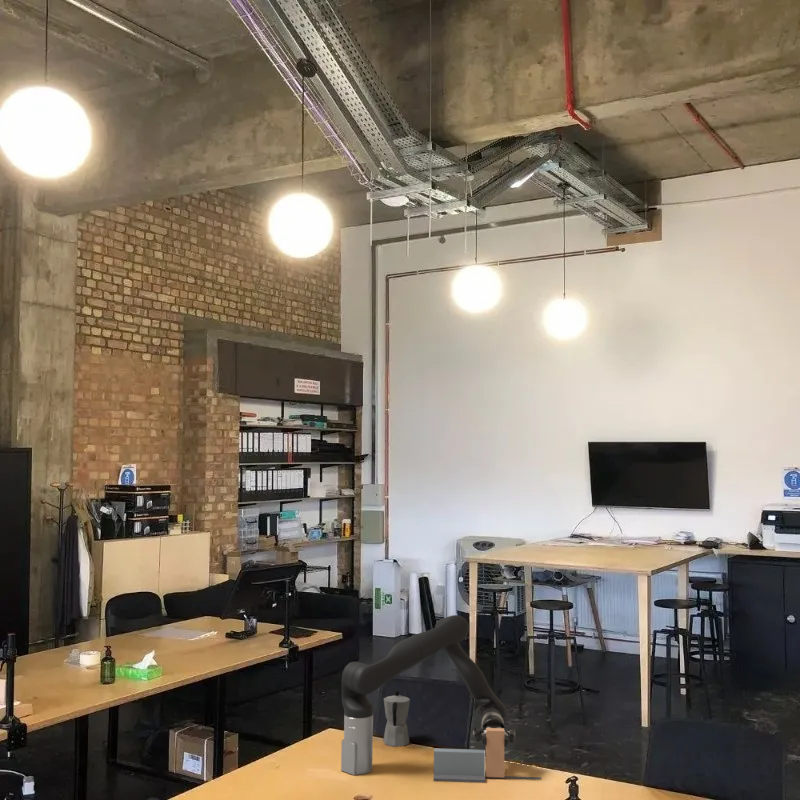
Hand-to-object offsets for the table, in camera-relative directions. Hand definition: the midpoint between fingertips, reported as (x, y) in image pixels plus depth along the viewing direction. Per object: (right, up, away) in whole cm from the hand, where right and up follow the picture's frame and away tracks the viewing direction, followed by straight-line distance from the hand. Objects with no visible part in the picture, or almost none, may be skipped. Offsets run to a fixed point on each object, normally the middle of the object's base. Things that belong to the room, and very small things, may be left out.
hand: (495, 742), depth 267 cm
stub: (0, -12, +1) cm, 12 cm away
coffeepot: (-31, -14, +34) cm, 48 cm away
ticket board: (-2, -12, +2) cm, 12 cm away
